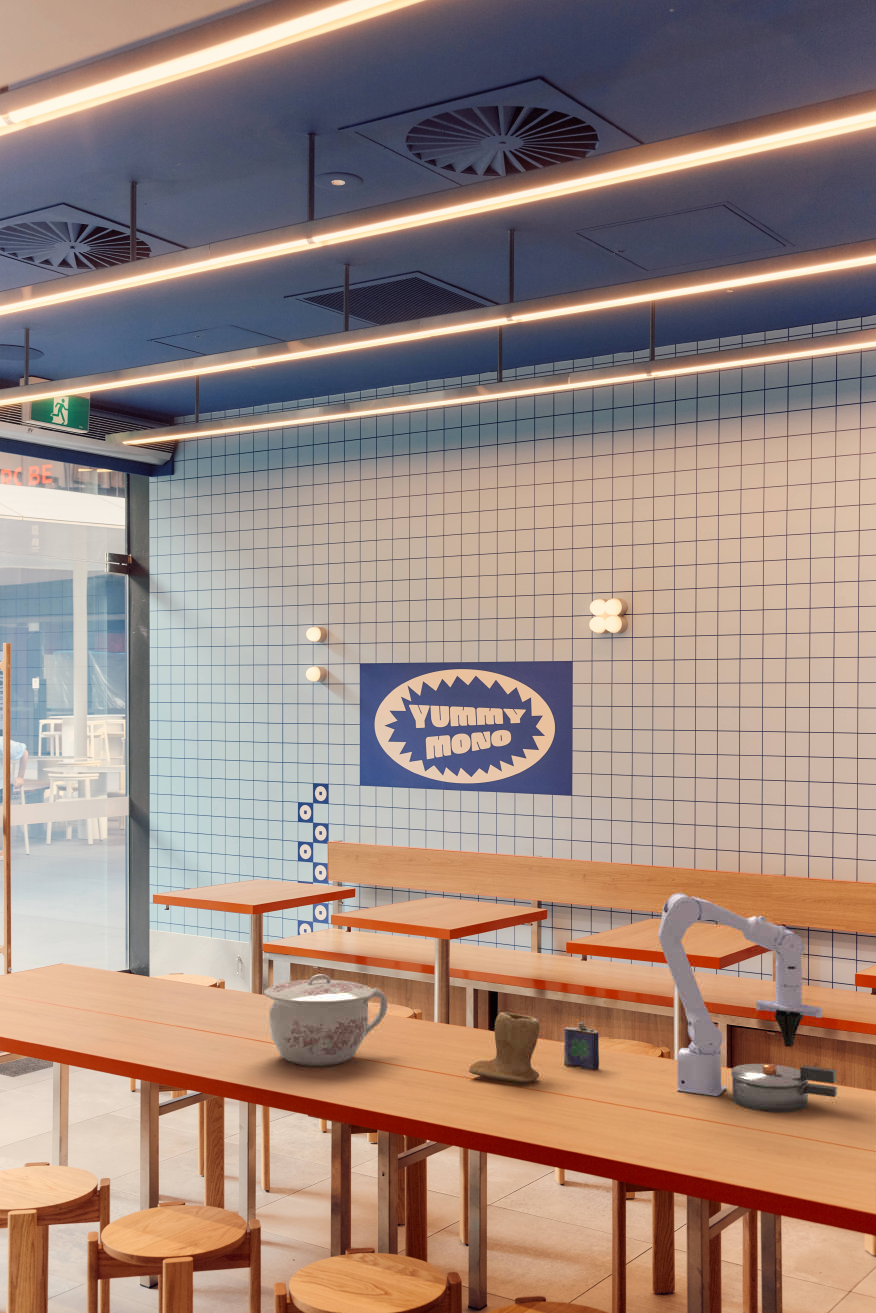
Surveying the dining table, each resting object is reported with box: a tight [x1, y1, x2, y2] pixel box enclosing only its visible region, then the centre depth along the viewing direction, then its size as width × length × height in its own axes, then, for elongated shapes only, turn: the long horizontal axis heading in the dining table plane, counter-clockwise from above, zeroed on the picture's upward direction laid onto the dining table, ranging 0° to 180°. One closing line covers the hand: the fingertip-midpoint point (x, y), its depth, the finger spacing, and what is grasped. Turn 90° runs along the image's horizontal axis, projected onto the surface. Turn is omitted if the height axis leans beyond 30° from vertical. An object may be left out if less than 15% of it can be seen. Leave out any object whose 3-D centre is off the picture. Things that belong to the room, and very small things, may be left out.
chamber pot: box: [263, 973, 388, 1067], centre depth 301 cm, size 28×28×21 cm
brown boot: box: [468, 1012, 540, 1083], centre depth 285 cm, size 15×12×15 cm
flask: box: [563, 1021, 600, 1071], centre depth 297 cm, size 9×3×11 cm, turn 55°
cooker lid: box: [730, 1063, 837, 1088], centre depth 266 cm, size 22×16×3 cm
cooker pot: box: [731, 1076, 838, 1113], centre depth 266 cm, size 22×16×5 cm
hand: (789, 1045), depth 276 cm, fingers closed
